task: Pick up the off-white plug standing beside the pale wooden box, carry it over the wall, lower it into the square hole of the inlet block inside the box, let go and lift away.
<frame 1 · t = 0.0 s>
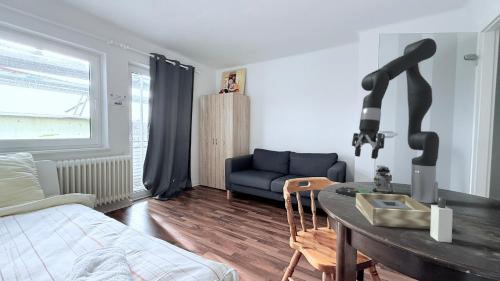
hand: (365, 157, 92), 22 cm above the table, tool pointing down, fingers open, 8 cm apart
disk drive: (353, 195, 115), on the table
figurine: (382, 193, 117), on the table
plug: (440, 239, 67), on the table
walled box: (390, 216, 85), on the table
inlet block: (390, 208, 85), in the walled box, point 3 cm above the table
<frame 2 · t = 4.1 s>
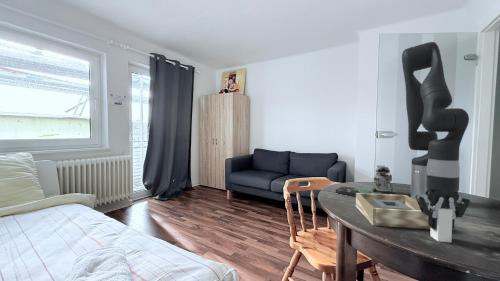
hand: (440, 228, 67), 3 cm above the table, tool pointing down, fingers closed on plug, 3 cm apart
plug: (440, 238, 67), on the table, touching gripper
everything else where it was.
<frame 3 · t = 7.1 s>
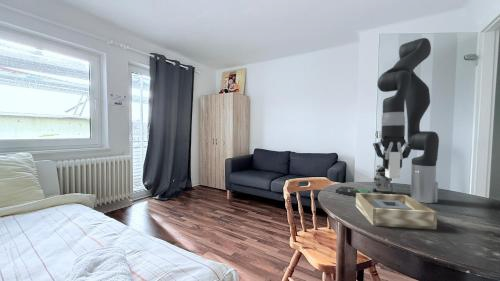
hand: (392, 168, 84), 19 cm above the table, tool pointing down, fingers closed on plug, 3 cm apart
plug: (392, 177, 84), point 16 cm above the table, touching gripper
everything else where it was.
when the fingers open (6 cm above the table, at t = 10.0 s): plug drops 2 cm, resting on walled box.
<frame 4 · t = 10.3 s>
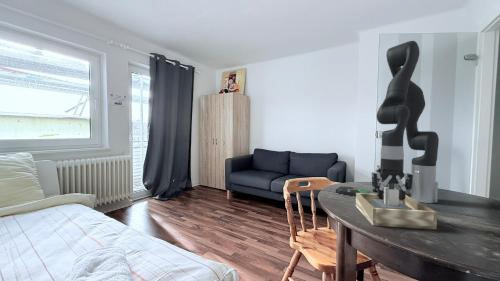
hand: (391, 199, 85), 7 cm above the table, tool pointing down, fingers open, 6 cm apart
plug: (390, 213, 85), point 1 cm above the table, touching walled box
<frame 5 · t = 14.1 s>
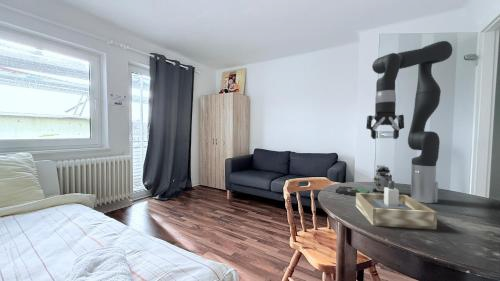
hand: (384, 138, 95), 30 cm above the table, tool pointing down, fingers open, 8 cm apart
at the end: plug 0.0 cm off-centre on the walled box, point 1.0 cm above the walled box's base; plug tilted 0°; the gripper is holding nothing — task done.
